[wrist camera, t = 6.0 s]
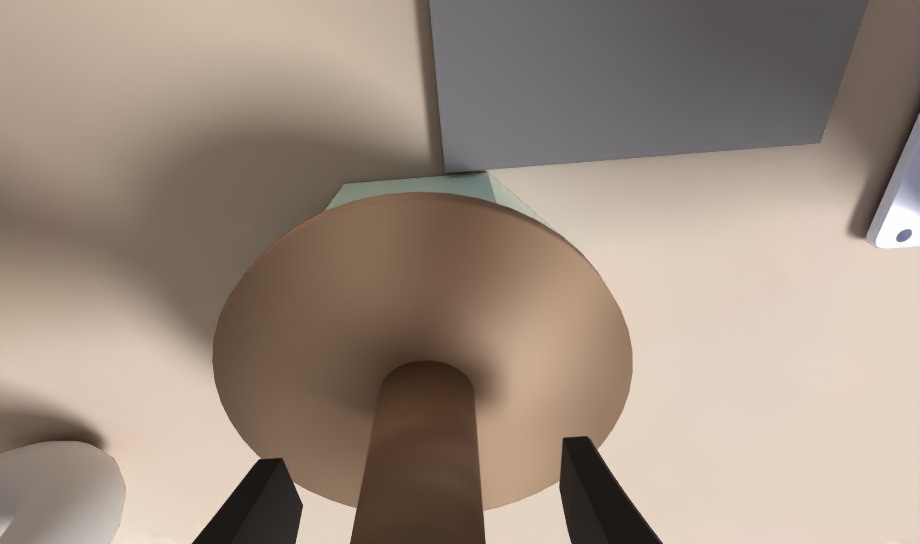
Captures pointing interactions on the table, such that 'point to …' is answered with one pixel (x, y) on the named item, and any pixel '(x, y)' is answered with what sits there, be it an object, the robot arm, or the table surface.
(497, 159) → the mat
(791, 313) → the table surface
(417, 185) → the bowl
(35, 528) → the donut
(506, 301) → the lid
